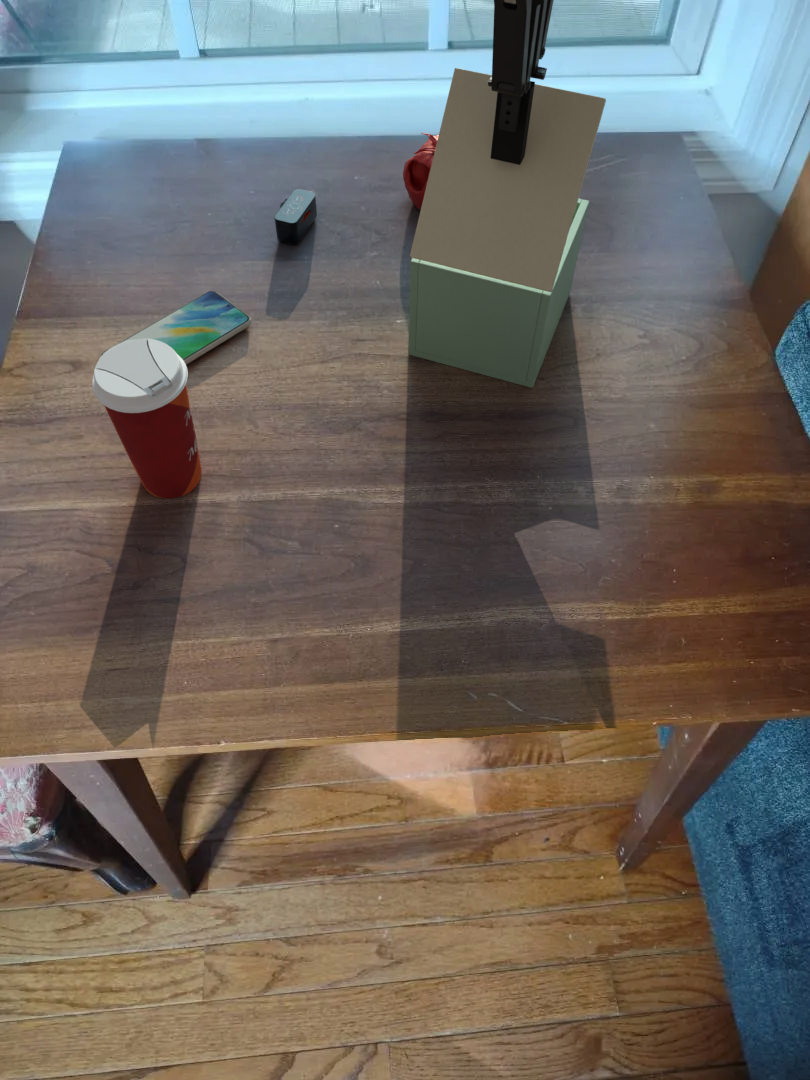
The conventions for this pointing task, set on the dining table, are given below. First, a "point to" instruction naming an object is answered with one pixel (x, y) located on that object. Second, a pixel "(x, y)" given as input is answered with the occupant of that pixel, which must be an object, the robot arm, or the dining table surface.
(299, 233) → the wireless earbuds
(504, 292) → the case
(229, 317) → the smartphone
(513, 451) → the dining table surface
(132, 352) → the paper cup
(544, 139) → the cover
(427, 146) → the pomegranate
